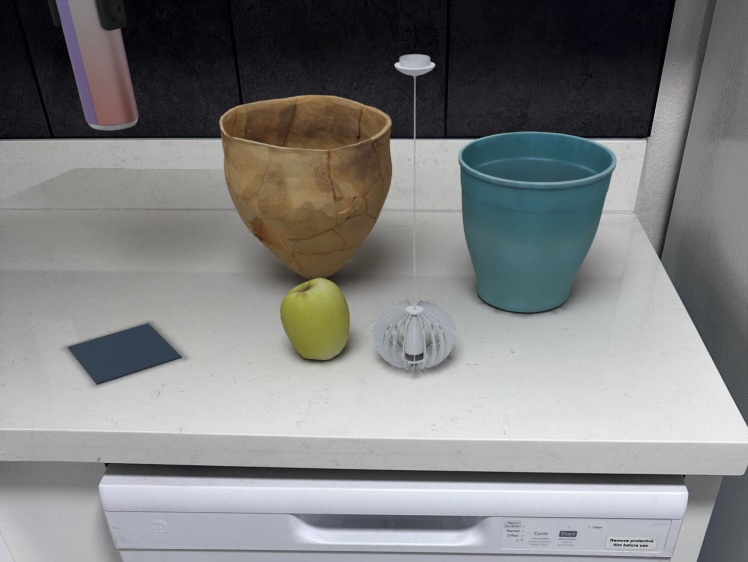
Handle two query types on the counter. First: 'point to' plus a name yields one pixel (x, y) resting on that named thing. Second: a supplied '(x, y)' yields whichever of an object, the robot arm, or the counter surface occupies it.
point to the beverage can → (98, 66)
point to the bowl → (308, 176)
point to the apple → (316, 319)
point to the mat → (123, 353)
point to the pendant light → (422, 310)
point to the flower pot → (531, 213)
